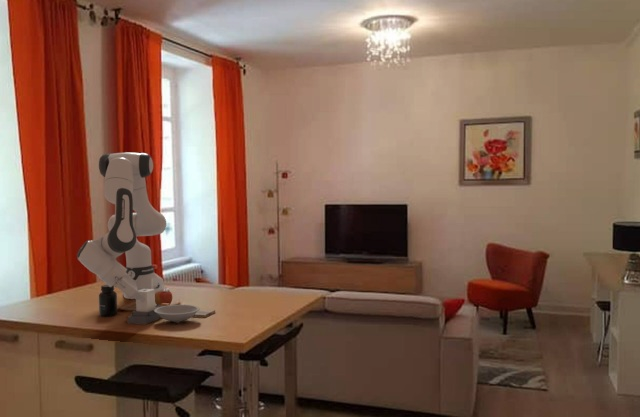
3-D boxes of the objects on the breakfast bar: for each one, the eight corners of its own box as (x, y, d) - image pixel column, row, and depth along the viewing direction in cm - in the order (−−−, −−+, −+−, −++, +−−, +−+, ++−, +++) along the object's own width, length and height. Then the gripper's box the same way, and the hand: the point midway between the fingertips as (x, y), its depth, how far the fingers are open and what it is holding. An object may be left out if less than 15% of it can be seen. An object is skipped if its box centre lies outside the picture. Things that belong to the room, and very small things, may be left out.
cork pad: (197, 311, 221) (197, 309, 221) (215, 312, 219) (215, 310, 219) (187, 316, 214) (186, 313, 214) (205, 317, 211) (204, 315, 211)
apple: (150, 308, 228) (150, 289, 228) (163, 304, 235) (162, 286, 234) (164, 310, 225) (163, 291, 224) (176, 306, 231) (175, 287, 231)
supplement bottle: (97, 317, 215) (96, 287, 214) (101, 313, 222) (99, 284, 221) (116, 316, 216) (114, 286, 216) (119, 312, 223) (117, 283, 222)
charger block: (144, 311, 213) (143, 288, 212) (155, 312, 211) (154, 288, 211) (136, 314, 208) (135, 290, 208) (147, 315, 207) (146, 291, 206)
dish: (145, 325, 202) (145, 312, 201) (168, 315, 215) (168, 303, 215) (186, 329, 196) (186, 315, 195) (207, 318, 209) (207, 306, 209)
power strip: (167, 307, 230) (166, 297, 230) (183, 307, 228) (183, 298, 228) (127, 323, 206) (127, 312, 205) (145, 324, 203) (145, 313, 203)
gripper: (121, 273, 196) (151, 297, 200) (120, 265, 215) (147, 287, 219) (109, 286, 195) (138, 310, 199) (109, 277, 214) (136, 299, 218)
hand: (143, 298), depth 209 cm, fingers open, 8 cm apart
